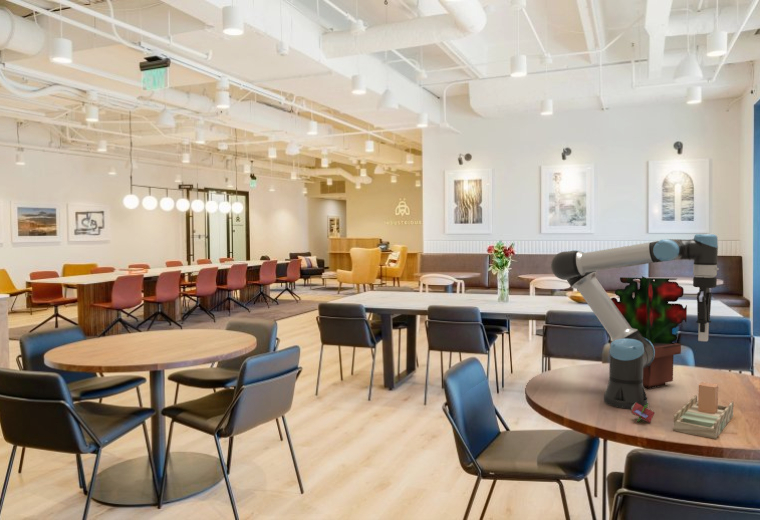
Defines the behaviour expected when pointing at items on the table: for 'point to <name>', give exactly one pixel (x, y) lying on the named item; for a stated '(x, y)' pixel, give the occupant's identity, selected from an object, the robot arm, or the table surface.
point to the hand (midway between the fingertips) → (703, 340)
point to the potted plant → (654, 321)
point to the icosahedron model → (642, 412)
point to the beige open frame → (702, 420)
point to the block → (708, 398)
